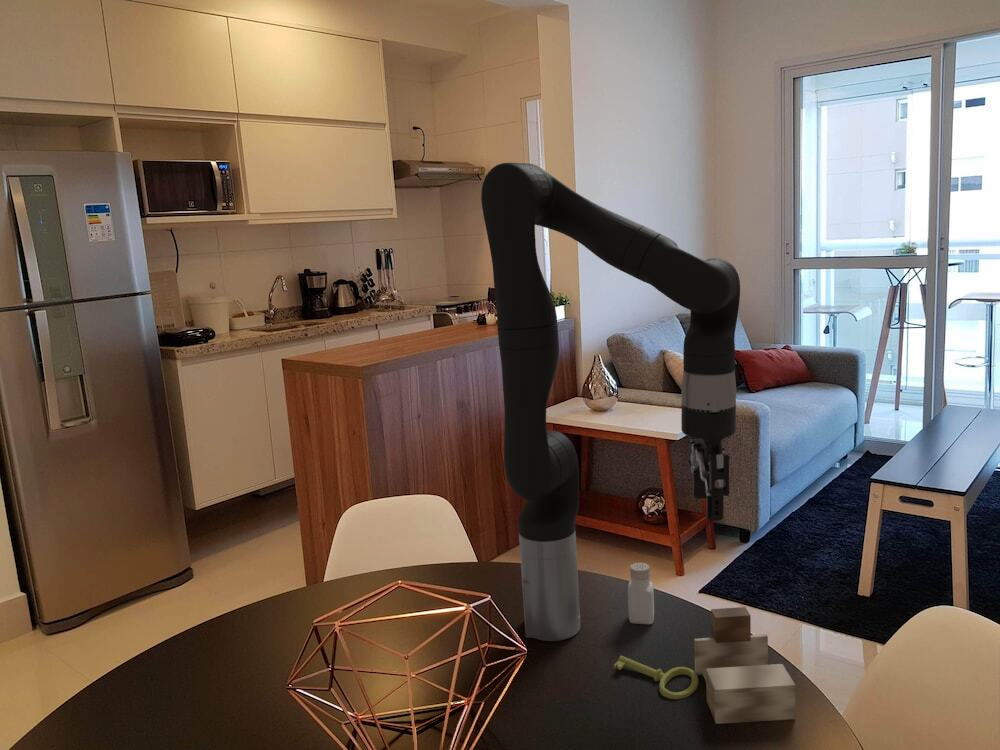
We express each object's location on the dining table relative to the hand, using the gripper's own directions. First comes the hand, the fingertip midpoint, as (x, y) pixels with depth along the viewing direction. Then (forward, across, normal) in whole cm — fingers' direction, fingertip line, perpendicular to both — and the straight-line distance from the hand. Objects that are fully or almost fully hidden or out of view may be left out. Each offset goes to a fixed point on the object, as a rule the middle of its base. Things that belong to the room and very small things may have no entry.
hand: (707, 508), depth 119 cm
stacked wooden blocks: (+23, +6, +3) cm, 24 cm away
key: (+25, +5, -8) cm, 27 cm away
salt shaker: (+24, -12, -8) cm, 28 cm away
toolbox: (+24, +14, +3) cm, 28 cm away
